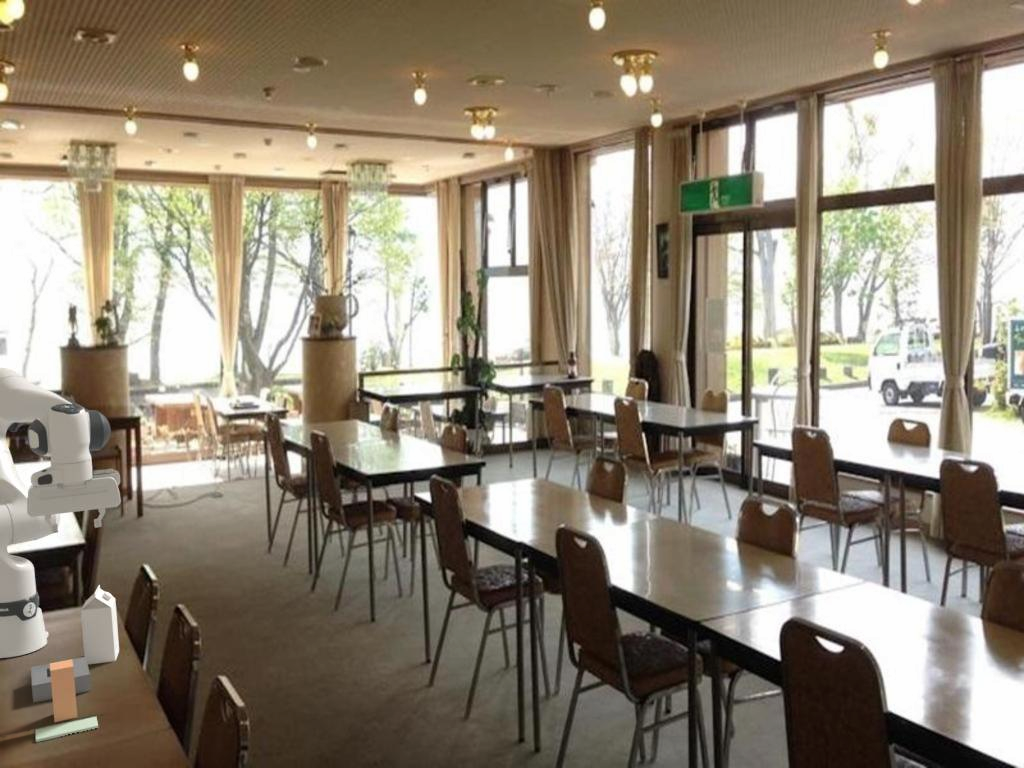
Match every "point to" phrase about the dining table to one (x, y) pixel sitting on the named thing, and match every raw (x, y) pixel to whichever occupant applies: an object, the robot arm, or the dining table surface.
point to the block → (63, 690)
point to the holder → (43, 679)
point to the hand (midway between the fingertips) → (76, 529)
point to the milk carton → (100, 628)
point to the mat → (66, 728)
